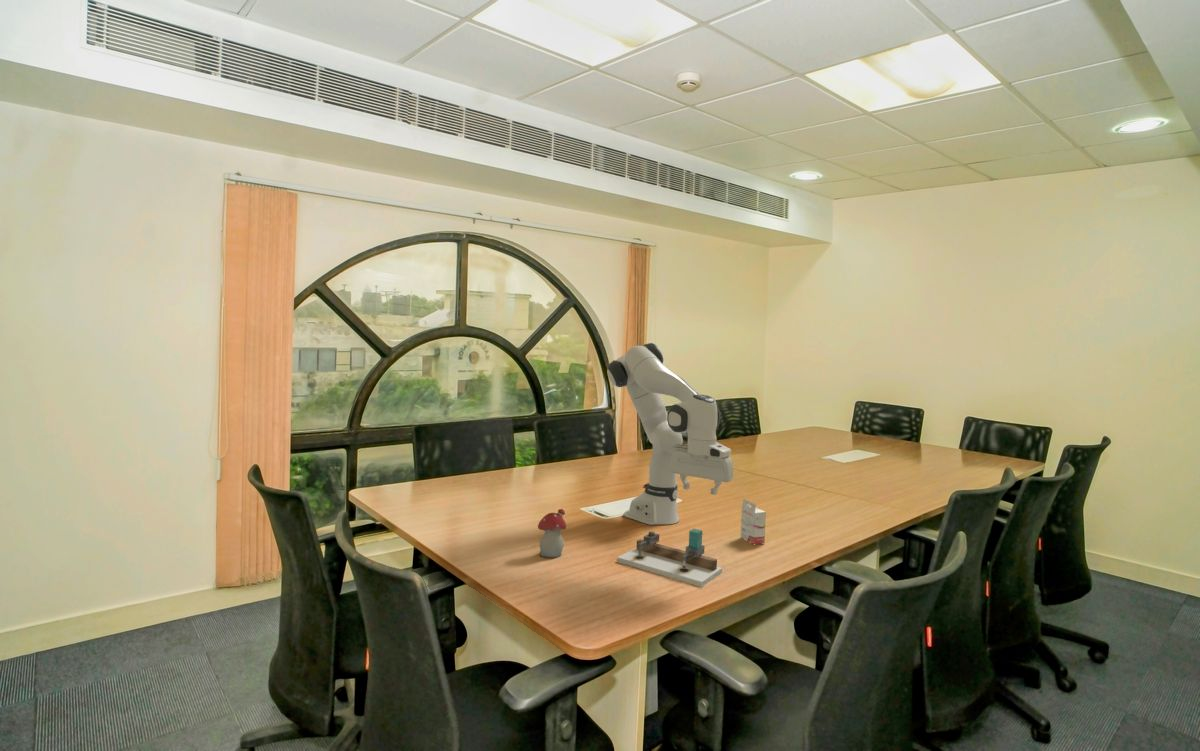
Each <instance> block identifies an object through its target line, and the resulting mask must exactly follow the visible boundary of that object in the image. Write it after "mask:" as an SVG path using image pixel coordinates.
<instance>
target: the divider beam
mask: <svg viewBox="0 0 1200 751" xmlns="http://www.w3.org/2000/svg"><path fill="white" fill-rule="evenodd" d="M658 542H660V534H658V533H655V531H652V530H651V531H648V534H645V535H643V539H638V540H636V547H635V548H636V550H639V554H638V555H641V551H644V552H647V553H651V554H654V555H658V556H662V557H665V558H669V559H673V560H676V561H680V562H683V560H682V556H683V555H685V554H686V550H682V549H679V548H675V547H671V546H667V545H664V544H659V543H658ZM686 563H687V564H691V565H694V566H698V567H702V568H705V569H709V570H713V571H714V570H716V569H717V567H718V559H716V558H713V557H710V556H705V555H703V554H702V555H701V556H699V557H697V558H696V557H691V558H689V559H688V560H686Z"/></svg>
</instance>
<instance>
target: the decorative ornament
mask: <svg viewBox="0 0 1200 751" xmlns="http://www.w3.org/2000/svg"><path fill="white" fill-rule="evenodd" d="M565 511H566V510H564V509H563V508H560V509H557V512H548V513H547V514H545V515H544V516H543V517H542V518H541V520H539V522H538V524H537V528H538V529H539V530H540V531H544V534H543V535H542V536H541V538H540V541H539V550H540V551H539V555H540V557H543V558H547V559H548V558H549V559H550V558H558V557H560V556H561V555H562V552H563V549H564V547H565V544H564V538H563V537H562V535H561V531H562V530H566V529H567V524H566V521H565V519H564V518H563V516H564V515H565V514H566V512H565Z"/></svg>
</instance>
